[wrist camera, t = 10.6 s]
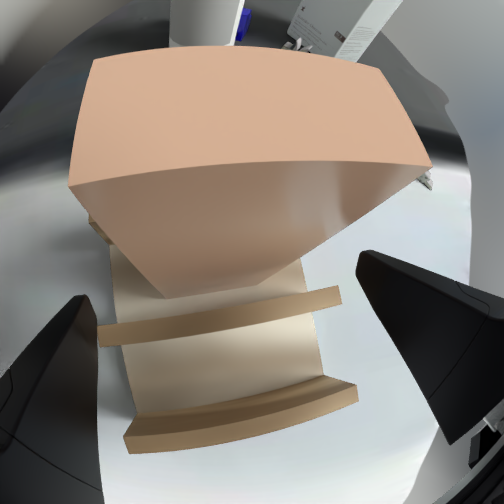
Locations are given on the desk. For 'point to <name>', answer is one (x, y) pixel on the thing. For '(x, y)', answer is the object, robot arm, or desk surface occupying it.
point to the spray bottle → (204, 22)
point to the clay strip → (235, 158)
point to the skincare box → (340, 25)
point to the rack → (219, 358)
